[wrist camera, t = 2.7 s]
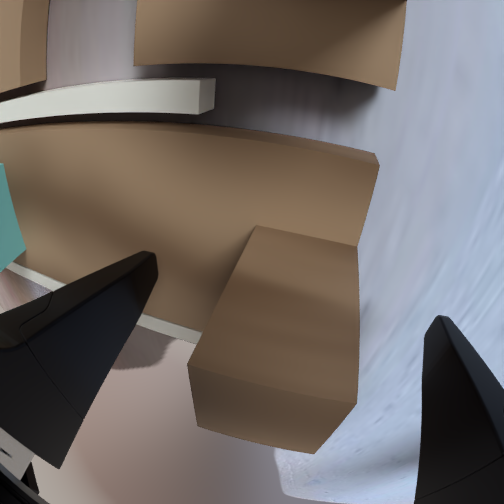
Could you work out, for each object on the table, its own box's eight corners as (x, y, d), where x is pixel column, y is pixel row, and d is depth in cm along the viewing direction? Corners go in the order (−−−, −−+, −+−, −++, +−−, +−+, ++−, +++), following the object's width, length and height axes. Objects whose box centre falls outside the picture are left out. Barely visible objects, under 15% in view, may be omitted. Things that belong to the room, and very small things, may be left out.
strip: (319, 337, 13) (294, 474, 8) (-4, 238, 16) (-60, 290, 11) (374, 153, 8) (424, 298, 3) (-30, 133, 12) (-103, 177, 7)
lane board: (210, 327, 15) (199, 350, 13) (-16, 243, 18) (-28, 252, 17) (243, -146, 2) (230, -165, 1) (-44, -4, 6) (-59, -1, 5)
